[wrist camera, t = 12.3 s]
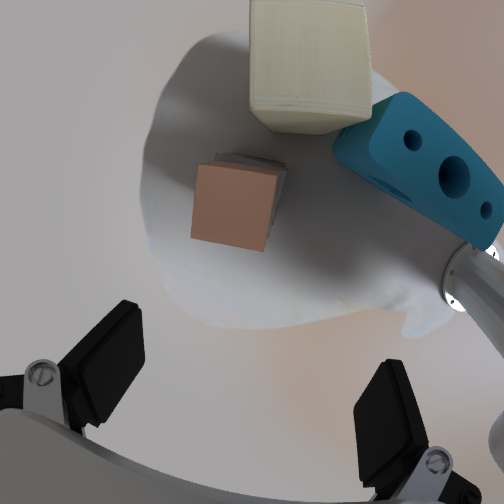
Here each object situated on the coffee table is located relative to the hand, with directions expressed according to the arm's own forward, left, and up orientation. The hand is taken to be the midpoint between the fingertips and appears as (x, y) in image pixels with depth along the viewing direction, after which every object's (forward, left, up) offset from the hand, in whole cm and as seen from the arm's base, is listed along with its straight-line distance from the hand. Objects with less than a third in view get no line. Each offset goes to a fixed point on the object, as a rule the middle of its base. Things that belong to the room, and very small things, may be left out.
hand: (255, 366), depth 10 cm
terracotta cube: (+4, -2, -19) cm, 20 cm away
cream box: (0, -14, -28) cm, 31 cm away
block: (-10, -9, -28) cm, 31 cm away
